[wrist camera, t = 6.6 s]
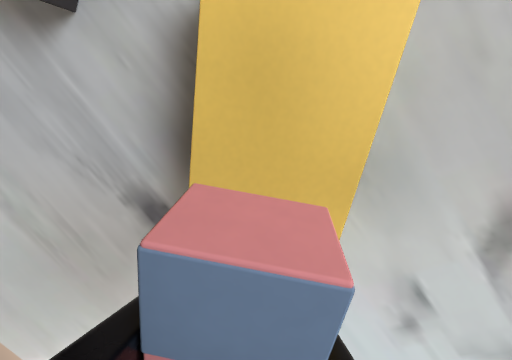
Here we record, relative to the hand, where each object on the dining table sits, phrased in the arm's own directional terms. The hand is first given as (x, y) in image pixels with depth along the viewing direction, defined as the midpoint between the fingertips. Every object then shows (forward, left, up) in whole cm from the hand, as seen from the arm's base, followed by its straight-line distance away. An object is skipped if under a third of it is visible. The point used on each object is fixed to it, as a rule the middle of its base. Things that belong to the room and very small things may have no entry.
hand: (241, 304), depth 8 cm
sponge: (0, +3, -12) cm, 12 cm away
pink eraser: (0, 0, -1) cm, 1 cm away
